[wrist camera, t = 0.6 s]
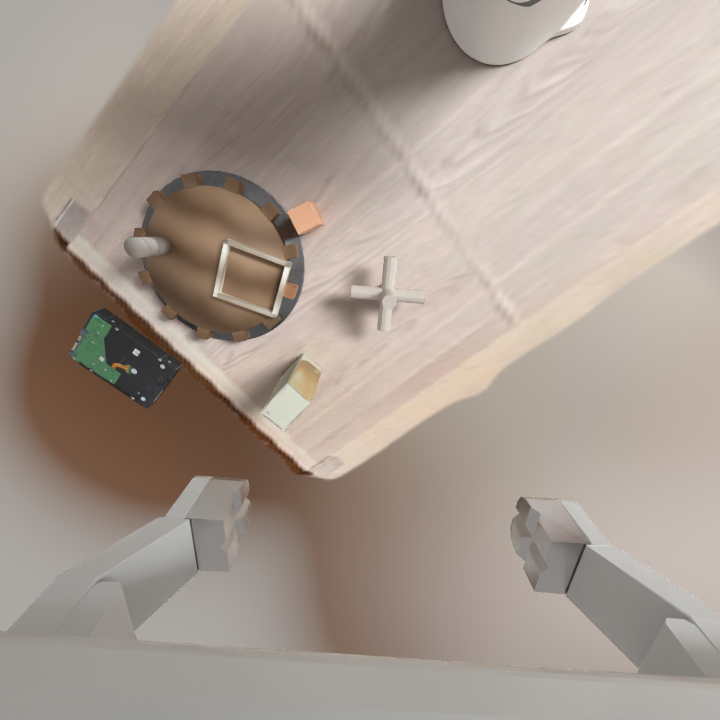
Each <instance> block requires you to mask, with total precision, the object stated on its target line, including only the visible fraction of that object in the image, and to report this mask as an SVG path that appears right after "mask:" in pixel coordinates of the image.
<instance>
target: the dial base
mask: <svg viewBox="0 0 720 720" xmlns="http://www.w3.org/2000/svg"><path fill="white" fill-rule="evenodd" d="M194 173H197V174H200V175H201V176H202V179H203V183H204V186H215V187H220V188H224V184H225V179H226V176H228V177H231V178H234V179H236V180H239V181H241V182H244V183H245V188H244V192H243V196H246V197H247V198H249V199H250V200H252V201H253V202H255V203H256V204H257V205H259V206H260V207H261V208H263V207H264V206H265V204H266V203H267V202H270V203H273V204H274V205H275V207H276V208H277V209H278V210H279V211H280V213H281V215H280V216H279V217H278V218H277V219H276V220H275V221H274V223H275V224H276V226H277V227H278V229H279V231H280V233H281V235H282V237H283V239H284V242H285V244H286V245H290V244H295V243H296V244H297V249H298V253H299V257H296V258H291V259H289V262H292V266H291V269H290V274H289V282H290V283H293V284H296V285H298V289H297V292H296V296H295V297H294V298H293V299H289V298H286V297H283V299H282V301H281V305H280V308H279V312H278V316H279V317H280V318H281V320H280V321H279V322H278V323H276V324H275V325H274V326H273V327H272V328H271V329H270V330H269V329H268V328H267V327H266V326H265V325H264V324H263V323H262V322H261V323H260V324H258V325H256V326H254V327H253V328H250V329H248V330H249V333H250V337H249V338H248V339H251V338H256V337H258V336H261V335H264V334H266V333H268V332H269V331H271V330H273V329H274V328H276V327H277V326H278V325H280V324H281V323H282V322H283V321H284V320H285V319H286V318H287V317H288V315H289V314H290V313H291V311H292V310H293V308H294V307H295V305H296V303H297V301H298V299H299V296H300V293H301V290H302V286H303V281H304V256H303V250H302V246H301V242H300V239H299V236H298V234H297V231H296V229H295V227H294V225H293V223H292V221H291V220H290V218H289V216H288V215H287V213H286V212H285V211H284V209H283V208H282V207H281V206H280V204H279V203H278V202H277V201H276V200H275V199H274V198H273V197H272V196H271V195H269V194H268V193H267V192H266V191H265V190H263V189H262V188H260V187H259V186H257V185H256V184H254V183H252V182H250V181H248V180H246V179H244V178H242V177H239V176H236V175H233V174H230V173H225V172H219V171H201V172H194ZM182 189H185V188H184V185H183V182H182V179H181V177H180V178H178V179H176V180H174V181H172V182H171V183H170V184H168V185H167V186H165V187H164V188H163V189H162V190H161V191H160V192H164V193H165V194H166V195H167V196H168V197H169V196H170V195H172V194H173V193H175V192H177V191H179V190H182ZM154 212H155V209H154V208H153V207H152V206H151V205H150V207H149V209H148V211H147V213H146V216H145V219H144V222H143V228H145V229H147V227H148V224H149V221H150V219H151V217H152V215H153V213H154ZM143 263H144V267H145V270H146V271H148V269H147V264H146V260H145V257H143ZM151 285H152V287H153V289H154V290H155V292H156V294H157V295H158V297H159V298H160V300H161V301H162V302H163V304H164V305H165V306H166V305H167V303H166V302H165V301H164V300H163V298H162V297H161V296H160V294H159V293H158V291H157V290H156V288H155V286H154V284H153V283H151ZM177 318H178V319H179V320H180V321H182V322H183V323H185V324H186V325H188V326H189V327H191V328H192V329H194V330H196V331H197V326H195V325H193V324H192V323H190V322H188V321H186V320H185V319H183V318H182V317H181V316H178V317H177ZM212 337H214V338H218V339H224V340H234V339H233V336H232V333H220V332H214V335H213V336H212Z"/></svg>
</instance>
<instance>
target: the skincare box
mask: <svg viewBox="0 0 720 720" xmlns="http://www.w3.org/2000/svg"><path fill="white" fill-rule="evenodd" d="M321 371H322V369H321V368H320V367H319V366H318V365H317V364H316V363H315V362H314V361H312V360H311V359H310V358H309V357H308V356H307V355H305V354H302V355H301V356H300V357H299V358H298V359H297V360H296V361H295V362H294V363H293V364H292V365H291V366H290V367H289V368H288V369H287V370H286V372H285V373H284V374H283V375H282V376H281V378H280V379H279V381H278V383H277V384H276V386H275V388H274V389H273V391H272V393H271V394H270V396H269V398H268V399H267V401H266V403H265V404H264V406H263V408H262V409H261V411H260V413H261V414H262V415H263V416H265V417H266V418H267V419H268V420H270V421H271V422H272V423H274V424H275V425H276V426H278V427H279V428H281V429H282V430H285V429H286V428H287V427H288V426H289V425H290V424H291V423H293V422H294V421H295V420H296V419H297V418H298V417H299V416H300V415H301V414H302V412H303V411H304V410H305V409H306V408H307V407H308V406H309V405H310V404H311V401H312V398H313V395H314V392H315V389H316V386H317V383H318V380H319V377H320V374H321Z"/></svg>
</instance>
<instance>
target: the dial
mask: <svg viewBox="0 0 720 720" xmlns="http://www.w3.org/2000/svg"><path fill="white" fill-rule="evenodd" d="M180 176H181V179H182V182H183V185H184V188H185V189H182V190H179V191H177V192H175V193H173V194H172V195H170V196H169V197H168V196H167V195H166V194H165V193H164V192H160V191H153V193H152V194H151V195H150V196H149V197H148V199H147V200H146V201H147V202H148V203H149V204H150V205H151V206H152V207H153V208H154V209H155V212H154V213H153V215H152V217H151V219H150V221H149V224H148V227H147V229H145V228H135V229H134V237H133V238H128V239H127V240H126V241H125V243H124V247H125V250H126V252H127V254H128V255H129V256H131V257H133V258H143V257H145V260H146V264H147V269H148V271H142V272H138V274H139V276H140V278H141V281H142V283H143V285H145V284H151V283H153V284H154V286H155V288H156V290H157V291H158V293H159V294H160V296H161V297H162V298H163V300H164V301H165V302H166V303H167V305H166V306H165V307H164V308H163V309H162V310H161V312H163V313H164V314H165V315H166V316H167V317H168V318H169V319H170V320H171V319H174V318H176V317H178V316H181V317H182V318H183V319H185V320H186V321H188V322H190V323H192V324H193V325H195V326H197V332H196V336H198V337H201V338H204V339H209V338H210V337H212V336H213V335H214V332H220V333H232V336H233V339H234V342H240V341H246V340H247V339H248V338H249V337H250V333H249V330H248V329H250V328H253V327H254V326H256V325H258V324H260V323H261V322H262V323H263V324H264V325H265V326H266V327H267V328H268V329H269V330H270V329H271V328H272V327H273V326H274V325H275V324H276V323H278V322H279V321H280V320H281V318H280V317H279V316H278V312H279V308H280V305H281V301H282V299H283V297H286V298H289V299H293V298H294V297H295V296H296V292H297V289H298V285H296V284H293V283H290V282H289V274H290V269H291V266H292V262H289V259H291V258H296V257H299V253H298V249H297V244H296V243H295V244H290V245H286V244H285V242H284V239H283V237H282V235H281V233H280V231H279V229H278V227H277V226H276V224H275V223H274V221H275V220H276V219H277V218H278V217H279V216H280V215H281V213H280V211H279V210H278V209H277V208H276V207H275V205H274V204H273V203H270V202H267V203H266V204H265V206H264V207H263V208H261V207H260V206H259V205H257V204H256V203H255V202H253V201H252V200H250V199H249V198H247V197H246V196H243V192H244V188H245V183H244V182H241V181H239V180H236V179H234V178H231V177H228V176H226V179H225V184H224V188H220V187H215V186H204V183H203V179H202V176H201V175H200V174H197V173H194V172H193V173H188V174H184V175H180Z"/></svg>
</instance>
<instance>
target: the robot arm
mask: <svg viewBox="0 0 720 720" xmlns="http://www.w3.org/2000/svg"><path fill="white" fill-rule="evenodd" d="M589 1H590V0H442V3H443V10H444V15H445V19H446V22H447V25H448V28H449V30H450V33H451V35H452V36H453V38H454V40H455V41H456V43H457V44H458V46H459V47H460V48H461V49H462V50H463V51H464V52H465V53H466V54H467V55H469V56H470V57H472V58H473V59H475V60H477V61H480V62H482V63H486V64H491V65H503V64H509V63H513V62H515V61H518V60H520V59H522V58H524V57H526V56H528V55H529V54H531V53H532V52H534V51H535V50H536V49H537V48H539V47H540V46H541V45H542V44H543V43H545V42H546V41H547V40H549V39H551V38H552V37H556V36H559V35H563V34H566V33H568V32H571V31H572V30H574V29H575V28H576V27H577V26H578V25H579V24H580V23H581V21H582V20H583V18H584V16H585V14H586V11H587V8H588V5H589ZM248 492H249V483H248V481H247V480H246V479H235V478H223V477H208V476H196V477H194V478H193V479H192V480H191V481H190V483H189V484H188V486H187V487H186V488H185V490H184V491H183V492H182V494H181V495H180V496H179V498H178V499H177V500H176V502H175V503H174V504H173V506H172V507H171V509H170V510H169V511H168V513H167V514H166V515H165V517H164V518H163V517H158V518H157V519H155V520H153V521H151V522H150V523H148V524H146V525H145V526H143V527H141V528H139V529H138V530H136V531H135V532H133V533H131V534H129V535H127V536H126V537H124V538H122V539H120V540H119V541H117V542H115V543H114V544H112V545H110V546H108V547H107V548H105V549H103V550H102V551H100V552H98V553H96V554H95V555H93V556H91V557H89V558H88V559H86V560H84V561H83V562H81V563H79V564H77V565H76V566H74V567H72V568H71V569H69V570H67V571H65V572H64V573H62V574H60V575H59V576H57V577H56V578H55V579H54V580H53V582H52V583H51V584H50V585H49V586H48V587H47V588H46V589H45V590H44V591H43V592H42V593H41V594H40V596H39V597H38V598H37V599H36V600H35V601H34V602H33V603H32V604H31V605H30V606H29V607H28V609H27V610H26V611H25V612H24V613H23V614H22V615H21V616H20V617H19V619H17V621H16V622H15V623H14V624H13V625H12V626H11V627H10V628H9V629H8V630H7V631H6V632H3V631H0V720H720V613H718V612H717V611H715V610H714V609H712V608H711V607H709V606H708V605H706V604H705V603H703V602H702V601H700V600H698V599H697V598H695V597H694V596H692V595H691V594H689V593H688V592H686V591H685V590H683V589H682V588H680V587H679V586H677V585H675V584H674V583H672V582H671V581H669V580H668V579H666V578H665V577H663V576H661V575H660V574H659V573H657V572H655V571H654V570H652V569H651V568H649V567H648V566H646V565H645V564H643V563H642V562H640V561H639V560H637V559H636V558H634V557H632V556H631V555H629V554H628V553H626V552H625V551H623V550H622V549H620V548H619V547H614V546H611V545H610V543H609V542H608V541H607V540H606V538H605V537H604V536H603V535H602V533H601V532H600V531H599V530H598V528H597V527H596V526H595V525H594V523H593V522H592V521H591V519H590V518H589V517H588V516H587V514H586V513H585V512H584V510H583V509H582V508H581V507H580V505H579V504H578V503H577V502H576V501H574V500H573V499H550V498H549V499H548V498H532V497H531V498H530V497H520V498H519V500H518V501H517V505H516V509H517V510H518V512H519V514H518V515H517V516H515V517H514V518H513V519H512V523H511V527H510V529H511V540H512V543H513V546H514V549H515V551H516V553H517V554H518V555H519V556H520V557H521V558H522V559H524V560H525V564H524V570H525V572H526V575H527V577H528V579H529V581H530V583H531V585H532V587H533V589H534V591H536V592H547V593H558V594H566V596H567V598H569V600H570V601H571V602H572V603H574V605H576V607H577V608H579V609H580V611H581V612H582V613H584V615H585V616H586V617H587V618H589V619H590V621H591V622H592V623H594V624H595V626H596V627H598V628H599V629H600V631H602V632H603V634H604V635H606V637H607V638H608V639H610V640H611V642H612V643H613V644H614V645H615V646H617V648H618V649H619V650H620V651H622V653H624V654H625V656H626V657H628V658H629V659H630V661H631V662H632V663H633V664H634V665H635V666H637V668H638V669H637V671H636V673H624V672H610V671H595V670H580V669H563V668H549V667H534V666H532V667H531V666H518V665H502V664H486V663H471V662H455V661H440V660H425V659H410V658H395V657H380V656H365V655H351V654H335V653H320V652H306V651H290V650H275V649H261V648H260V649H259V648H245V647H230V646H215V645H199V644H185V643H170V642H155V641H140V640H136V636H135V632H134V631H135V630H136V629H137V628H138V627H139V626H140V625H141V624H142V623H143V622H145V621H146V620H147V619H148V618H149V617H150V616H151V615H152V614H153V613H154V612H155V611H156V610H158V609H159V608H160V607H161V606H162V605H163V604H164V603H165V602H166V601H167V600H168V599H169V598H171V597H172V596H173V595H174V594H175V593H176V592H177V591H178V590H179V589H180V588H181V587H182V586H183V585H185V583H187V582H188V581H189V580H190V579H191V578H192V577H193V576H194V575H195V574H196V573H197V572H198V570H201V571H203V570H204V571H230V568H231V566H232V563H233V561H234V559H235V556H236V554H237V552H238V540H240V539H241V538H242V537H243V536H244V535H245V533H246V530H247V527H248V523H249V519H250V510H251V508H250V501H249V500H248V499H247V498H246V496H247V494H248Z"/></svg>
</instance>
